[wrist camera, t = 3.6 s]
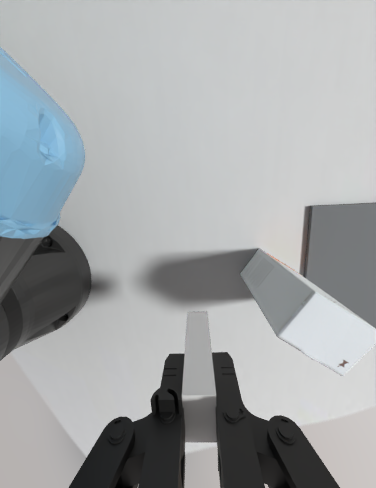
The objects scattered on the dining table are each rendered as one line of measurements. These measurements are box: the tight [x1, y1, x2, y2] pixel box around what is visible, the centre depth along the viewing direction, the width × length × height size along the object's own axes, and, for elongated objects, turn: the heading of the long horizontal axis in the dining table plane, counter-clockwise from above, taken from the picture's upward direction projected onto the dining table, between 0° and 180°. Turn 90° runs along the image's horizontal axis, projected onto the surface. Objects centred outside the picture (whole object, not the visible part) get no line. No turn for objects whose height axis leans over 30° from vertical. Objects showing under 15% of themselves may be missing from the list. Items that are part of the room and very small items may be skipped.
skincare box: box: [240, 249, 376, 376], centre depth 19 cm, size 6×4×12 cm
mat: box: [304, 203, 376, 329], centre depth 24 cm, size 15×16×1 cm
